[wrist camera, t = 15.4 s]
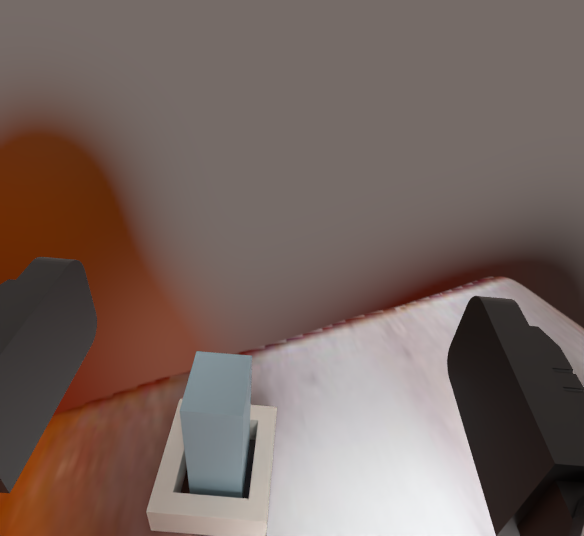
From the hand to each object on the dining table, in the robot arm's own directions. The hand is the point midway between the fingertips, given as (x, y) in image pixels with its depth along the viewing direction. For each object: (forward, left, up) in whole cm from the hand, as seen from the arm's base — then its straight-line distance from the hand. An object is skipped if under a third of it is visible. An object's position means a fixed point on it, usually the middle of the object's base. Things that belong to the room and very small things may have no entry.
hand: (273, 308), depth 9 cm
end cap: (+4, -12, -30) cm, 33 cm away
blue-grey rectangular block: (+4, -12, -30) cm, 33 cm away
